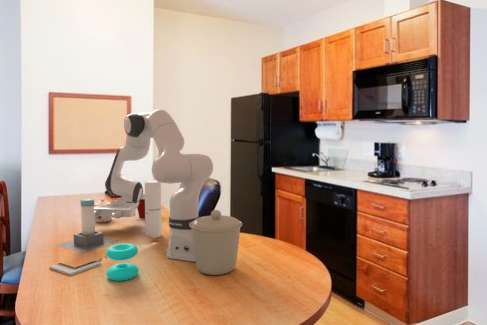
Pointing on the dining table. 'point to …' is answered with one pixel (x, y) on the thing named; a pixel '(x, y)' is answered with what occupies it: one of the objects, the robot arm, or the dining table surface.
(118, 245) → the donuts
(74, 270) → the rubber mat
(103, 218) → the teacup with lid
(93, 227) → the cylinder
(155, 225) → the cylindrical container
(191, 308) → the dining table surface
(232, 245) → the canister
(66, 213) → the dining table surface
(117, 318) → the dining table surface
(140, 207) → the plastic cup
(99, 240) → the grey square peg base
